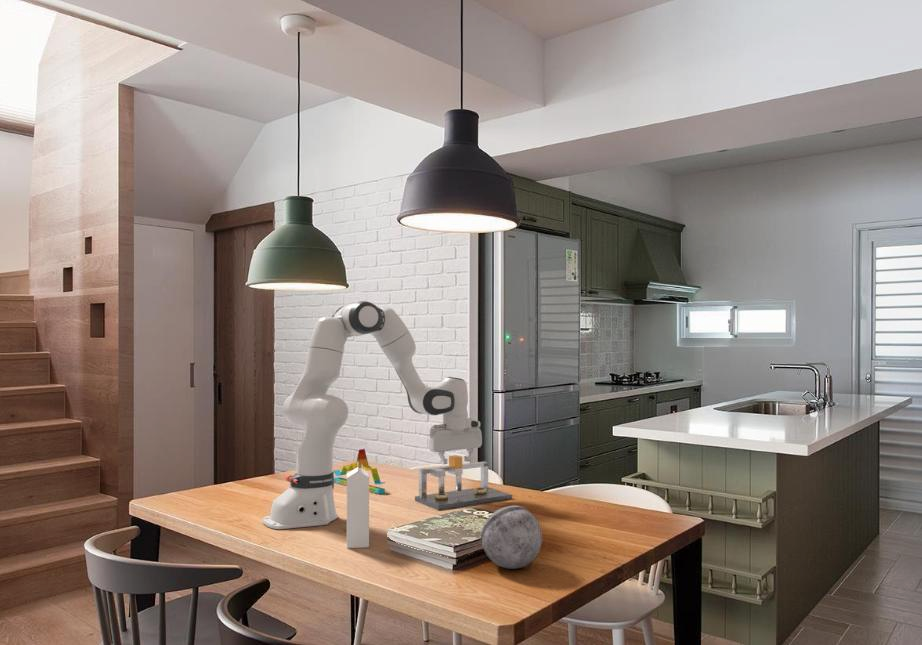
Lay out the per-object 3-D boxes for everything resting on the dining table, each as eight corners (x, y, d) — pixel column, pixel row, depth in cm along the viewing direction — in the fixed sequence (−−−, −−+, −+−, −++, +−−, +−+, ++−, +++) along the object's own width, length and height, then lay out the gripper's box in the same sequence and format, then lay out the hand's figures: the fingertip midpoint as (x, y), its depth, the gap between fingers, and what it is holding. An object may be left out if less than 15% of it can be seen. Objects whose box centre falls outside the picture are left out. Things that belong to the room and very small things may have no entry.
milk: (368, 541, 191) (369, 461, 192) (369, 547, 185) (369, 465, 186) (346, 542, 190) (347, 461, 191) (346, 548, 185) (346, 465, 185)
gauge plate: (438, 510, 226) (438, 476, 226) (414, 500, 240) (414, 468, 240) (511, 498, 242) (511, 467, 243) (485, 490, 256) (485, 460, 256)
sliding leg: (456, 491, 238) (456, 457, 239) (448, 488, 243) (448, 455, 243) (463, 490, 240) (463, 457, 240) (455, 487, 245) (455, 455, 245)
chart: (331, 482, 272) (331, 444, 272) (338, 481, 274) (338, 443, 274) (377, 495, 250) (377, 453, 250) (384, 494, 252) (384, 452, 252)
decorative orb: (521, 554, 179) (521, 496, 179) (554, 571, 166) (554, 508, 167) (471, 563, 172) (471, 503, 172) (501, 581, 159) (501, 516, 159)
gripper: (434, 426, 234) (434, 467, 234) (484, 422, 245) (484, 461, 245) (425, 424, 239) (425, 464, 239) (474, 420, 251) (474, 458, 250)
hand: (455, 462), depth 242 cm, fingers open, 8 cm apart
